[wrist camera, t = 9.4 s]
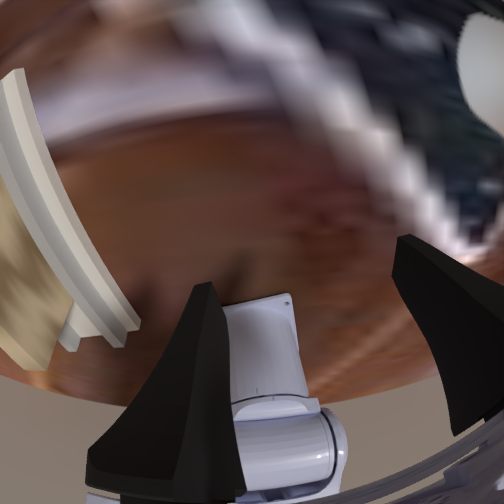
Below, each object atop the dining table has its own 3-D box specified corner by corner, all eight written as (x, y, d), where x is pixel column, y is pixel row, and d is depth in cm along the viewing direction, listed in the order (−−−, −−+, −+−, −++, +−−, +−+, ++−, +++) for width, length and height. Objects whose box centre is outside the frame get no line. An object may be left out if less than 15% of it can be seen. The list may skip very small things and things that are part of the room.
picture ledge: (141, 320, 24) (136, 345, 22) (68, 330, 24) (61, 352, 22) (23, 68, 10) (-4, 72, 7) (-43, 133, 10) (-64, 146, 8)
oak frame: (77, 292, 20) (46, 371, 13) (54, 297, 20) (24, 370, 13) (7, 167, 13) (-65, 228, 6) (-13, 183, 13) (-76, 242, 6)
